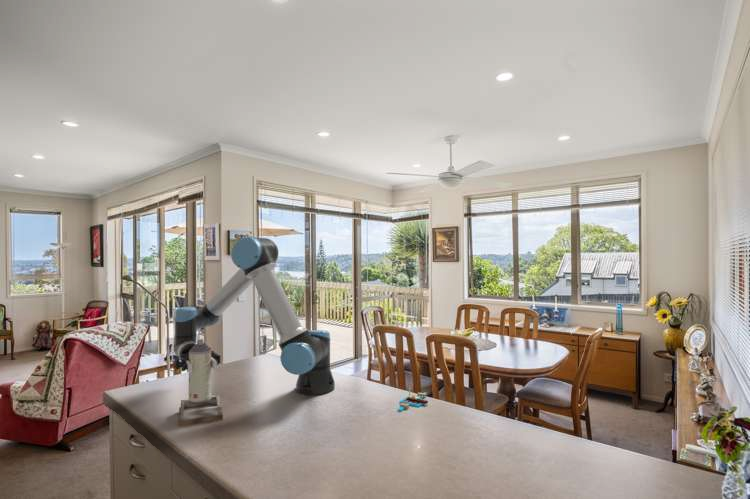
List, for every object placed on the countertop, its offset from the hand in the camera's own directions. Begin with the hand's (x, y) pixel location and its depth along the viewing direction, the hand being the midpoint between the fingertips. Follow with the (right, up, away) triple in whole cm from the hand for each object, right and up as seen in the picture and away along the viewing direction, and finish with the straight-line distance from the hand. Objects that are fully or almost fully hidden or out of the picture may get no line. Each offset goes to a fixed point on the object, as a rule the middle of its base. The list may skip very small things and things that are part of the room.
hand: (203, 367), depth 129 cm
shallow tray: (-3, -17, +4) cm, 18 cm away
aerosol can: (-3, -12, +4) cm, 13 cm away
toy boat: (+70, -17, +14) cm, 73 cm away
